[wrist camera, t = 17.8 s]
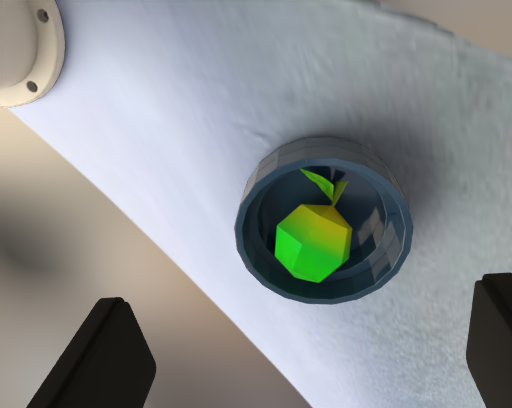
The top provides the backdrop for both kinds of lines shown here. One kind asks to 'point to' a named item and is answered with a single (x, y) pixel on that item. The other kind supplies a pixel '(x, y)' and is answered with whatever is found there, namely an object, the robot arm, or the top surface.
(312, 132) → the top surface
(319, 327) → the top surface
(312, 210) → the apple
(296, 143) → the bowl
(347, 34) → the top surface
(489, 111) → the top surface
